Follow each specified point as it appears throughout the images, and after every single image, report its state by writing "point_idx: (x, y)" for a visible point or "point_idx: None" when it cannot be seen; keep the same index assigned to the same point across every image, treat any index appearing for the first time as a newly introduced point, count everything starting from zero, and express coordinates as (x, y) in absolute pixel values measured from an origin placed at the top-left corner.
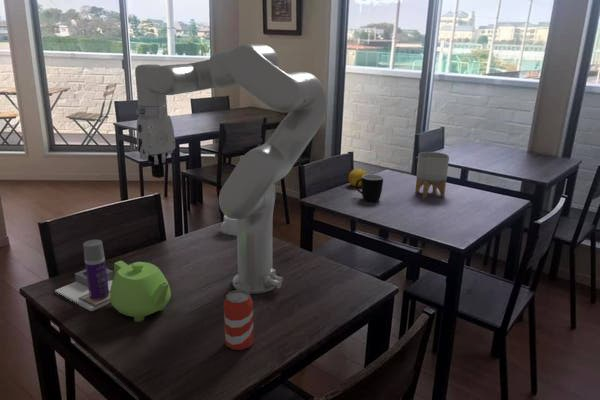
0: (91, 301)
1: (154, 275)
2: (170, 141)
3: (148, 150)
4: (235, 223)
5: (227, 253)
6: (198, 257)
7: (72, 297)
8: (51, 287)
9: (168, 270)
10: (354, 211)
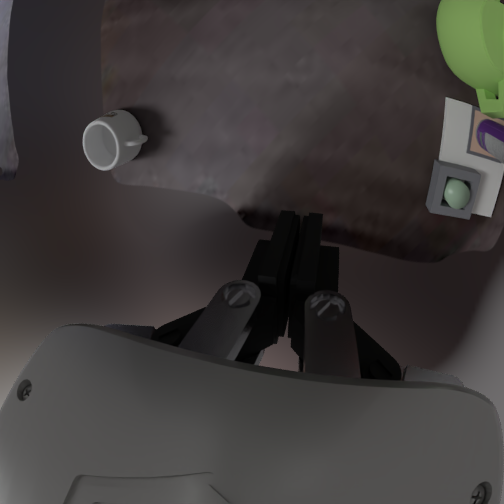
0: None
1: (499, 2)
2: (43, 433)
3: (501, 447)
4: (116, 124)
5: (197, 59)
6: (252, 88)
7: (500, 174)
8: (477, 232)
9: (341, 94)
10: (2, 88)
